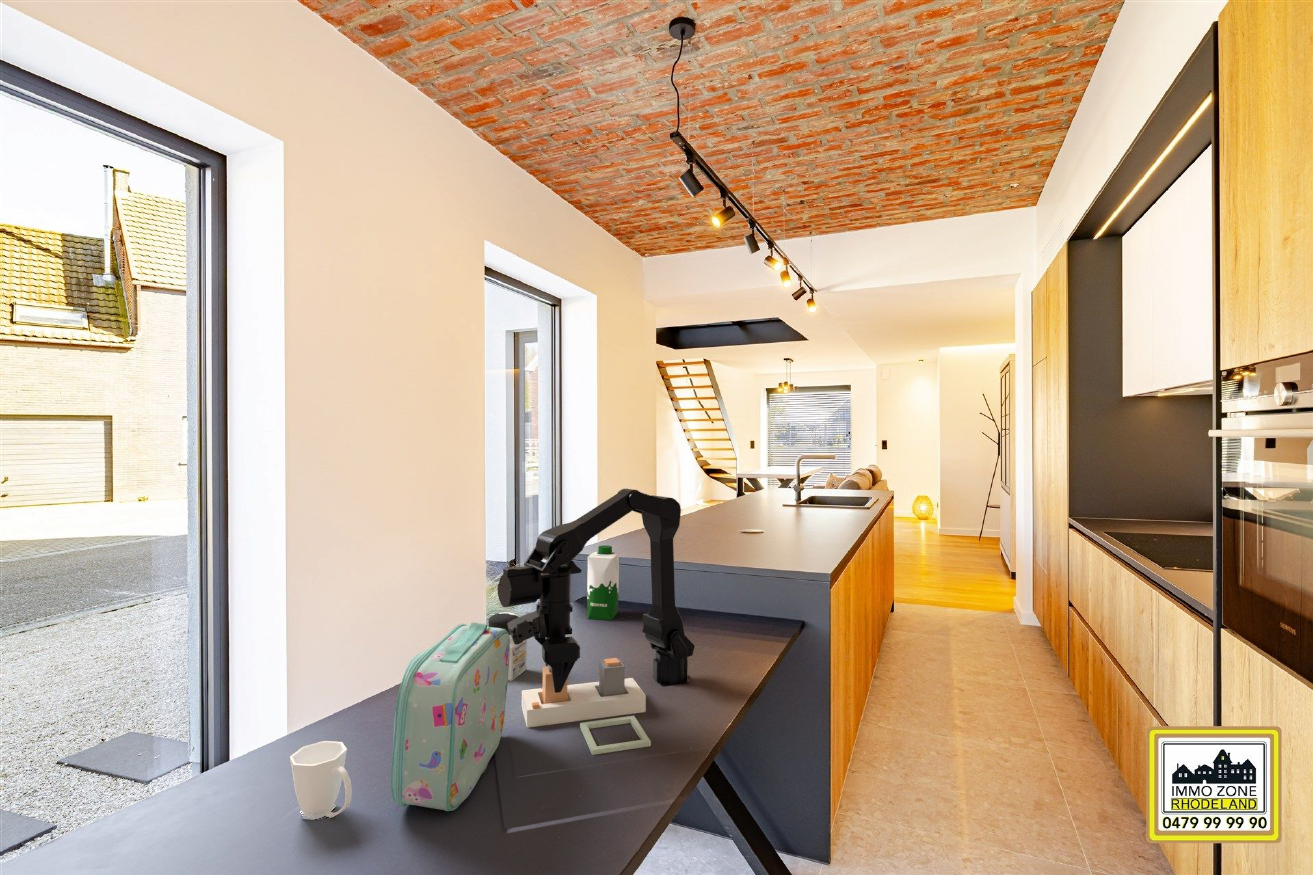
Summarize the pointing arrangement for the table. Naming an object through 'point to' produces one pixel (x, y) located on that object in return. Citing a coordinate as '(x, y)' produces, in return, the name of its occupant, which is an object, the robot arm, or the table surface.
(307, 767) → the cup
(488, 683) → the lunch box
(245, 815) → the table surface
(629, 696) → the outlet strip
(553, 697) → the plug
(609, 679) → the twin plug
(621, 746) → the tray
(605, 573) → the milk carton
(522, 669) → the container
